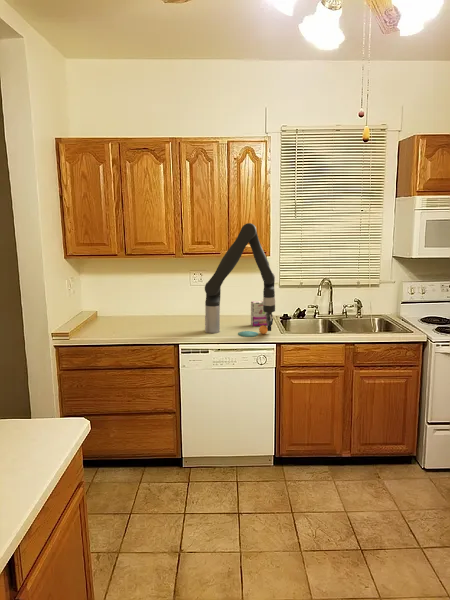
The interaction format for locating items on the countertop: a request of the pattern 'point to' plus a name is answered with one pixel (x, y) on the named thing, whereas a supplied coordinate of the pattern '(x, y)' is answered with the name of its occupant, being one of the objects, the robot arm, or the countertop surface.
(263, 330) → the ball
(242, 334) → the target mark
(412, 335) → the countertop surface
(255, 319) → the candy bar box
